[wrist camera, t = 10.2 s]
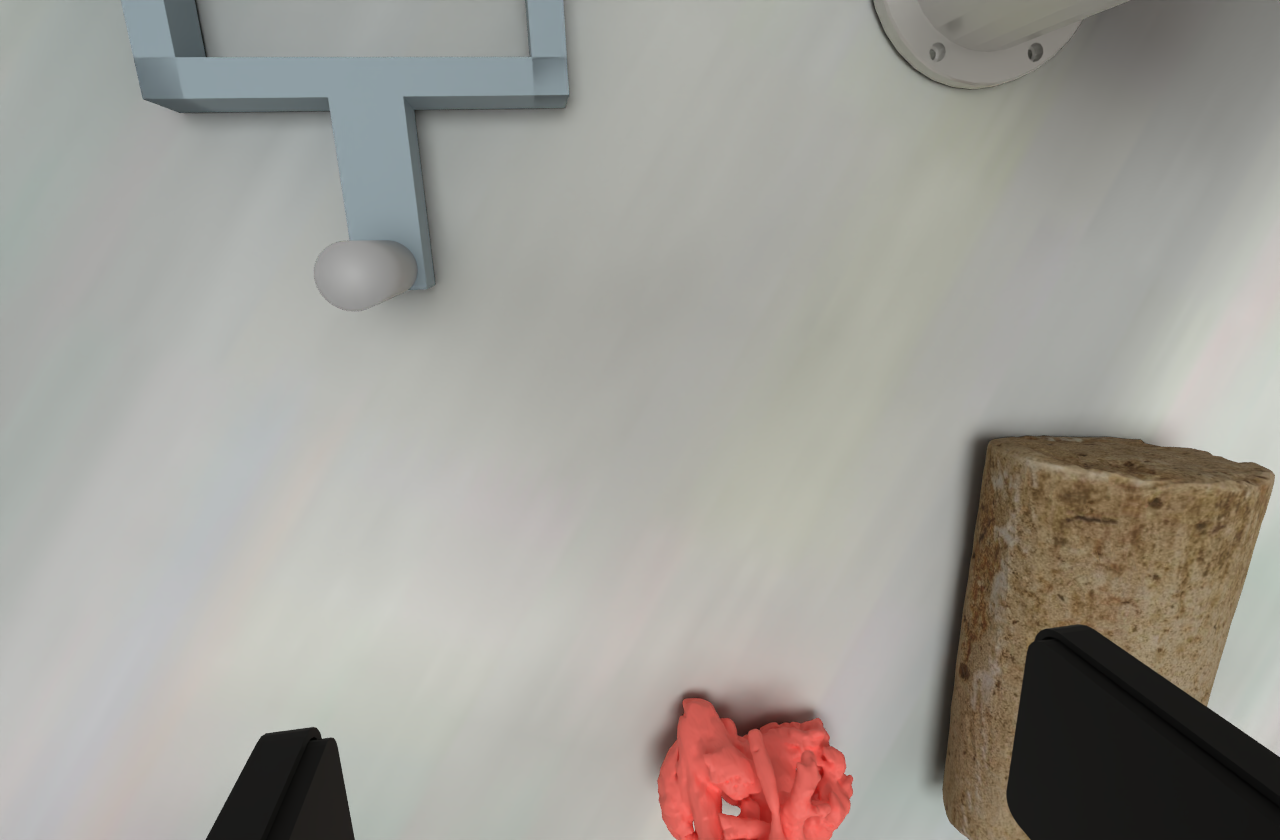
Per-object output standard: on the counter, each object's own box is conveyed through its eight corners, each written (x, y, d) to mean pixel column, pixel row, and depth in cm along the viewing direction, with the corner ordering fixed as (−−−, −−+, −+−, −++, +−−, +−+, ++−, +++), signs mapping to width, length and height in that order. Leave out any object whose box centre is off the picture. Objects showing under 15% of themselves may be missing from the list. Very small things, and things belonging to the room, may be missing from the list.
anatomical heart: (815, 726, 47) (904, 913, 37) (650, 769, 45) (695, 975, 36) (819, 642, 42) (922, 831, 32) (635, 687, 41) (682, 899, 31)
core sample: (916, 780, 48) (1014, 914, 38) (957, 426, 41) (1090, 482, 31) (1087, 753, 50) (1220, 874, 40) (1155, 413, 43) (1334, 462, 34)
